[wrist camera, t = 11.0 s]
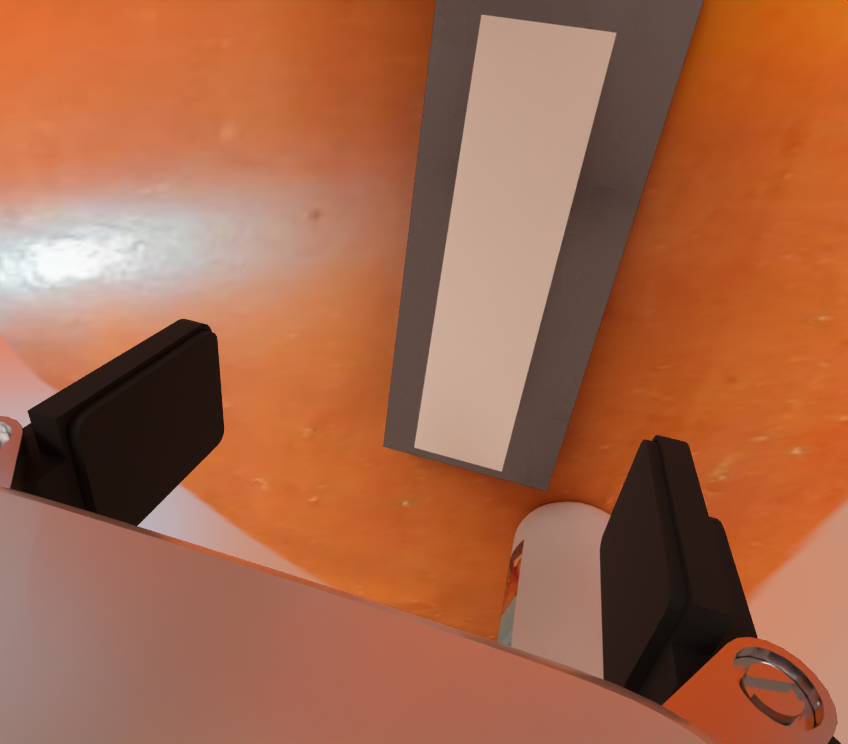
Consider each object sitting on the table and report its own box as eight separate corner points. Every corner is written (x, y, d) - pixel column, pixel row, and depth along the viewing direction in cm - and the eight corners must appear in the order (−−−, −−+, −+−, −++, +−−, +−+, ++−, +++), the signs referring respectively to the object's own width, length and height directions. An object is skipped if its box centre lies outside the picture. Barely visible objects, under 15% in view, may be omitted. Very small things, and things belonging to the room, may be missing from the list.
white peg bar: (509, 35, 24) (481, 14, 18) (608, 48, 24) (616, 32, 17) (447, 378, 33) (414, 447, 27) (518, 396, 32) (501, 471, 26)
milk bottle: (548, 477, 34) (510, 861, 17) (658, 533, 34) (731, 979, 17) (495, 551, 38) (422, 922, 21) (594, 601, 38) (600, 1019, 21)
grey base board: (464, -85, 23) (448, -108, 20) (712, -60, 21) (729, -81, 19) (398, 420, 35) (383, 446, 33) (549, 461, 34) (546, 491, 31)
